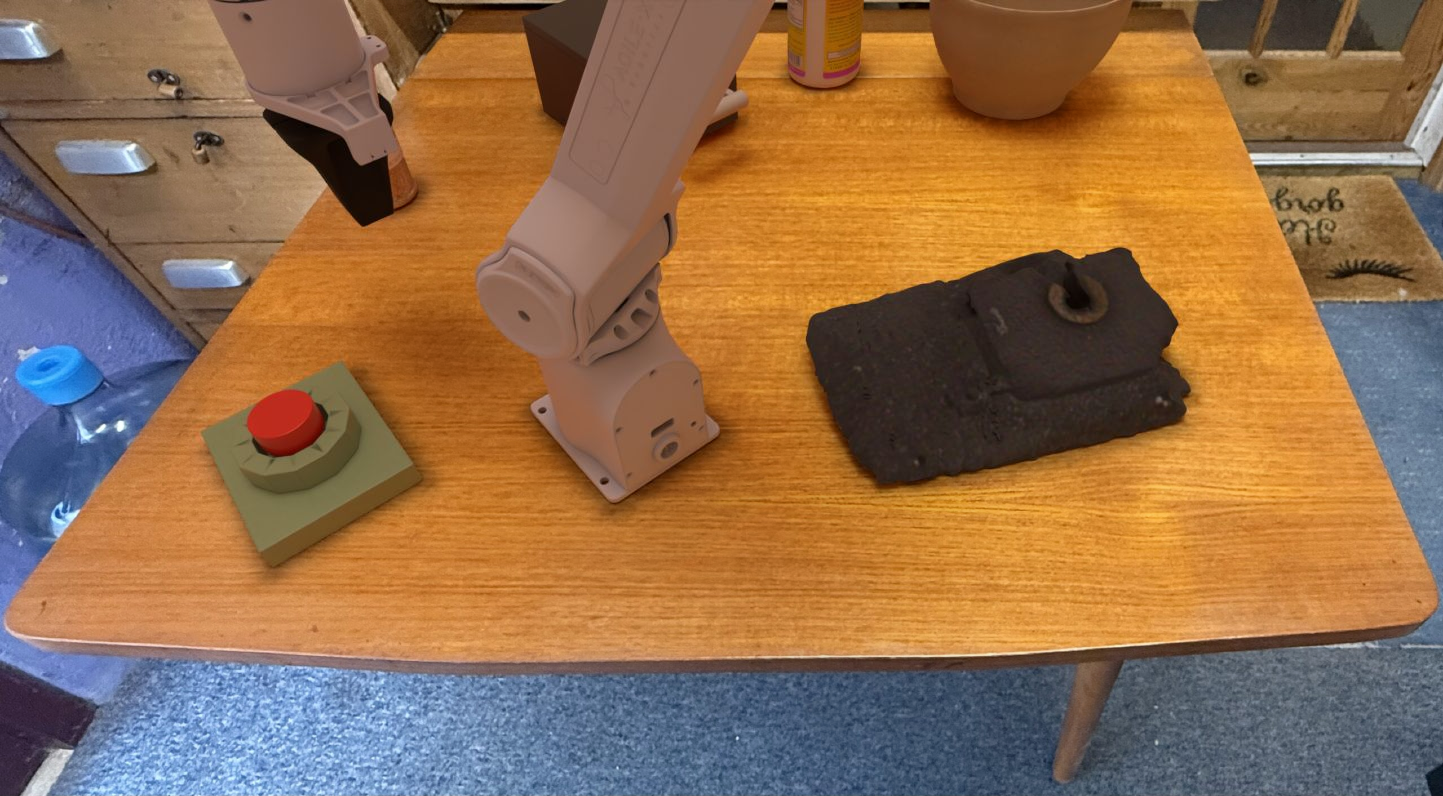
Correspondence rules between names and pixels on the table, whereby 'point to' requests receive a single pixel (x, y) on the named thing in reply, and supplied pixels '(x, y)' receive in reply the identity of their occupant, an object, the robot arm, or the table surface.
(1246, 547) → the table surface
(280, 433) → the button
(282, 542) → the control block
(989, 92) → the planter bowl
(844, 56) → the supplement bottle
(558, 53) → the cabinet
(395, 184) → the sprinkles bottle
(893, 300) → the black stepped slab
